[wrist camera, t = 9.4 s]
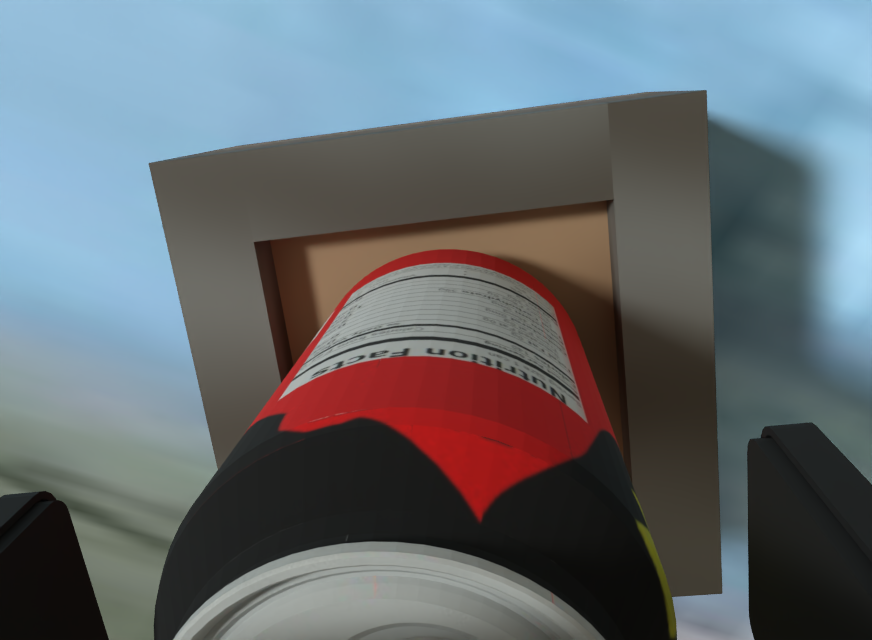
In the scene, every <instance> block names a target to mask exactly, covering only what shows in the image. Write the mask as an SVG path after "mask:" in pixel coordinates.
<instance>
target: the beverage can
mask: <svg viewBox="0 0 872 640" xmlns="http://www.w3.org/2000/svg"><path fill="white" fill-rule="evenodd" d="M154 640H677V631H676V618H675V612H674V606H673V600H672V596H671V592H670V589H669V585H668V582H667V579H666V575H665V573H664V570H663V567H662V564H661V562H660V559H659V556H658V553H657V551H656V548H655V545H654V542H653V540H652V537H651V534H650V531H649V529H648V526H647V523H646V520H645V517H644V515H643V512H642V509H641V506H640V504H639V501H638V498H637V495H636V493H635V490H634V487H633V484H632V482H631V479H630V476H629V473H628V471H627V468H626V465H625V462H624V460H623V457H622V454H621V451H620V449H619V446H618V443H617V440H616V438H615V435H614V432H613V429H612V427H611V424H610V421H609V418H608V416H607V413H606V410H605V407H604V404H603V402H602V399H601V396H600V393H599V391H598V388H597V385H596V382H595V380H594V377H593V374H592V371H591V369H590V366H589V363H588V360H587V358H586V355H585V352H584V349H583V347H582V344H581V341H580V338H579V336H578V334H577V331H576V329H575V326H574V324H573V323H572V321H571V319H570V317H569V315H568V314H567V312H566V311H565V309H564V308H563V306H562V305H561V303H560V302H559V301H558V300H557V299H556V297H555V296H554V295H553V294H552V293H551V292H550V291H549V290H548V289H547V288H546V287H545V286H544V285H543V284H542V283H540V282H539V281H538V280H537V279H535V278H534V277H533V276H532V275H530V274H529V273H527V272H525V271H524V270H522V269H521V268H519V267H517V266H515V265H513V264H511V263H509V262H507V261H504V260H502V259H499V258H497V257H494V256H491V255H487V254H484V253H479V252H474V251H468V250H458V249H438V250H429V251H423V252H418V253H413V254H410V255H407V256H404V257H400V258H398V259H395V260H393V261H391V262H388V263H386V264H385V265H383V266H381V267H379V268H377V269H375V270H374V271H373V272H371V273H370V274H368V275H367V276H365V277H364V278H363V279H362V280H360V281H359V282H358V283H357V284H356V285H355V286H354V287H353V288H352V289H351V290H350V291H349V292H348V293H347V294H346V295H345V296H344V298H343V299H342V300H341V301H340V303H339V304H338V305H337V307H336V308H335V309H334V311H333V312H332V314H331V315H330V316H329V318H328V319H327V321H326V322H325V323H324V325H323V326H322V327H321V329H320V330H319V332H318V333H317V334H316V336H315V337H314V338H313V340H312V341H311V343H310V344H309V345H308V347H307V348H306V349H305V351H304V352H303V354H302V355H301V356H300V358H299V359H298V361H297V362H296V363H295V365H294V366H293V367H292V369H291V370H290V372H289V373H288V374H287V376H286V377H285V378H284V380H283V381H282V383H281V384H280V385H279V387H278V388H277V389H276V391H275V392H274V394H273V395H272V396H271V398H270V399H269V401H268V402H267V403H266V405H265V406H264V407H263V409H262V410H261V412H260V413H259V414H258V416H257V417H256V418H255V420H254V421H253V423H252V424H251V425H250V427H249V428H248V429H247V431H246V432H245V434H244V435H243V436H242V438H241V439H240V441H239V442H238V443H237V445H236V446H235V447H234V449H233V450H232V452H231V453H230V454H229V456H228V457H227V458H226V460H225V461H224V463H223V464H222V465H221V467H220V468H219V469H218V471H217V472H216V474H215V475H214V476H213V478H212V479H211V481H210V482H209V483H208V485H207V486H206V487H205V489H204V490H203V492H202V493H201V494H200V496H199V497H198V498H197V500H196V501H195V503H194V504H193V505H192V507H191V508H190V510H189V512H188V513H187V515H186V516H185V518H184V520H183V521H182V523H181V525H180V526H179V528H178V531H177V533H176V535H175V537H174V539H173V542H172V544H171V546H170V549H169V552H168V555H167V558H166V561H165V564H164V568H163V572H162V576H161V580H160V584H159V590H158V595H157V600H156V605H155V618H154Z"/></svg>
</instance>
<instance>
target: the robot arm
mask: <svg viewBox="0 0 872 640" xmlns="http://www.w3.org/2000/svg"><path fill="white" fill-rule="evenodd" d="M747 461H748V565H749V618H750V625H751V629H752V633H753V636H754V639H755V640H872V485H871V483H870V482H869V481H868V480H867V479H866V478H865V477H864V476H863V475H862V474H861V473H860V472H859V471H858V470H857V469H856V468H855V467H854V465H853V464H852V463H851V462H850V461H849V460H848V459H847V458H846V457H845V456H844V455H843V454H842V453H841V452H840V451H839V450H838V449H837V447H836V446H835V445H834V444H833V443H832V442H831V441H830V440H829V439H828V438H827V437H826V436H825V435H824V434H823V433H822V432H821V430H820V429H819V428H818V427H817V426H816V425H814V424H813V423H800V424H789V425H778V426H767V427H764V429H763V431H762V434H761V438H757V439H750V441H749V443H748V451H747ZM0 640H109V639H108V636H107V632H106V629H105V626H104V623H103V619H102V616H101V613H100V610H99V607H98V603H97V600H96V597H95V594H94V591H93V587H92V584H91V581H90V578H89V575H88V571H87V568H86V565H85V562H84V559H83V555H82V552H81V549H80V546H79V543H78V539H77V536H76V533H75V530H74V527H73V523H72V520H71V517H70V514H69V511H68V508H67V506H66V505H65V504H64V503H63V502H62V501H59V500H56V498H55V497H54V496H53V495H52V494H51V493H49V492H46V491H43V492H32V493H21V494H10V495H4V496H2V497H0Z"/></svg>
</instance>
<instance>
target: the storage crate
mask: <svg viewBox="0 0 872 640" xmlns="http://www.w3.org/2000/svg"><path fill="white" fill-rule="evenodd" d="M149 167H150V171H151V176H152V180H153V185H154V189H155V193H156V198H157V202H158V207H159V211H160V216H161V220H162V224H163V229H164V233H165V238H166V242H167V246H168V251H169V255H170V260H171V264H172V269H173V273H174V277H175V282H176V286H177V291H178V295H179V299H180V304H181V308H182V313H183V317H184V322H185V326H186V330H187V335H188V339H189V344H190V348H191V353H192V357H193V361H194V366H195V370H196V375H197V379H198V383H199V388H200V392H201V397H202V401H203V406H204V410H205V414H206V419H207V423H208V428H209V432H210V436H211V441H212V445H213V450H214V454H215V459H216V463H217V467H218V469H219V468H220V467H221V465H222V464H223V463H224V461H225V460H226V458H227V457H228V456H229V454H230V453H231V452H232V450H233V449H234V447H235V446H236V445H237V443H238V442H239V441H240V439H241V438H242V436H243V435H244V434H245V432H246V431H247V429H248V428H249V427H250V425H251V424H252V423H253V421H254V420H255V418H256V417H257V416H258V414H259V413H260V412H261V410H262V409H263V407H264V406H265V405H266V403H267V402H268V401H269V399H270V398H271V396H272V395H273V394H274V392H275V391H276V389H277V388H278V387H279V385H280V384H281V383H282V381H283V380H284V378H285V377H286V376H287V374H288V373H289V372H290V370H291V369H292V367H293V366H294V365H295V363H296V362H297V361H298V359H299V358H300V356H301V355H302V354H303V352H304V351H305V349H306V348H307V347H308V345H309V344H310V343H311V341H312V340H313V338H314V337H315V336H316V334H317V333H318V332H319V330H320V329H321V327H322V326H323V325H324V323H325V322H326V321H327V319H328V318H329V316H330V315H331V314H332V312H333V311H334V309H335V308H336V307H337V305H338V304H339V303H340V301H341V300H342V299H343V298H344V296H345V295H346V294H347V293H348V292H349V291H350V290H351V289H352V288H353V287H354V286H355V285H356V284H357V283H358V282H359V281H360V280H362V279H363V278H364V277H365V276H367V275H368V274H370V273H371V272H373V271H374V270H375V269H377V268H379V267H381V266H383V265H385V264H386V263H388V262H391V261H393V260H395V259H398V258H400V257H404V256H407V255H410V254H413V253H418V252H423V251H429V250H438V249H458V250H468V251H474V252H479V253H484V254H487V255H491V256H494V257H497V258H499V259H502V260H504V261H507V262H509V263H511V264H513V265H515V266H517V267H519V268H521V269H522V270H524V271H525V272H527V273H529V274H530V275H532V276H533V277H534V278H535V279H537V280H538V281H539V282H540V283H542V284H543V285H544V286H545V287H546V288H547V289H548V290H549V291H550V292H551V293H552V294H553V295H554V296H555V297H556V299H557V300H558V301H559V302H560V303H561V305H562V306H563V308H564V309H565V311H566V312H567V314H568V315H569V317H570V319H571V321H572V323H573V324H574V326H575V329H576V331H577V334H578V336H579V338H580V341H581V344H582V347H583V349H584V352H585V355H586V358H587V360H588V363H589V366H590V369H591V371H592V374H593V377H594V380H595V382H596V385H597V388H598V391H599V393H600V396H601V399H602V402H603V404H604V407H605V410H606V413H607V416H608V418H609V421H610V424H611V427H612V429H613V432H614V435H615V438H616V440H617V443H618V446H619V449H620V451H621V454H622V457H623V460H624V462H625V465H626V468H627V471H628V473H629V476H630V479H631V482H632V484H633V487H634V490H635V493H636V495H637V498H638V501H639V504H640V506H641V509H642V512H643V515H644V517H645V520H646V523H647V526H648V529H649V531H650V534H651V537H652V540H653V542H654V545H655V548H656V551H657V553H658V556H659V559H660V562H661V564H662V567H663V570H664V573H665V575H666V579H667V582H668V585H669V589H670V592H671V596H672V597H677V596H693V595H708V594H722V568H721V536H720V504H719V473H718V441H717V409H716V377H715V345H714V314H713V282H712V250H711V218H710V186H709V155H708V123H707V91H706V90H701V91H667V92H644V93H637V94H629V95H621V96H614V97H606V98H599V99H591V100H583V101H576V102H568V103H560V104H553V105H545V106H538V107H530V108H522V109H515V110H507V111H500V112H492V113H484V114H477V115H469V116H462V117H454V118H446V119H439V120H431V121H424V122H416V123H408V124H401V125H393V126H386V127H378V128H370V129H363V130H355V131H348V132H340V133H332V134H325V135H317V136H310V137H302V138H294V139H287V140H279V141H272V142H264V143H256V144H249V145H241V146H235V147H230V148H225V149H219V150H214V151H209V152H204V153H199V154H194V155H189V156H183V157H178V158H173V159H168V160H163V161H158V162H153V163H149Z"/></svg>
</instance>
